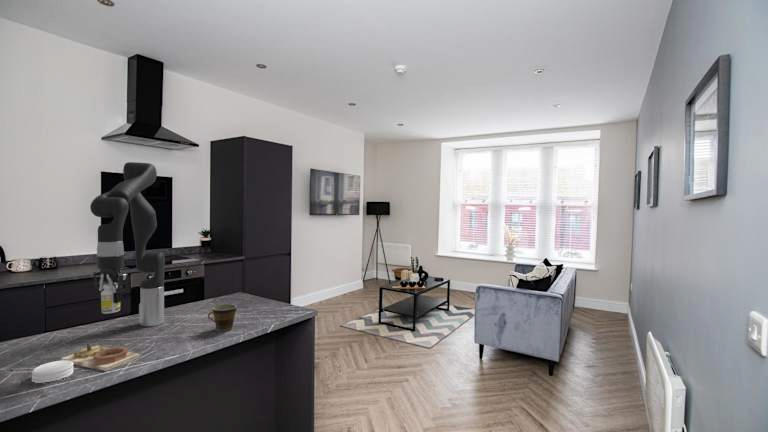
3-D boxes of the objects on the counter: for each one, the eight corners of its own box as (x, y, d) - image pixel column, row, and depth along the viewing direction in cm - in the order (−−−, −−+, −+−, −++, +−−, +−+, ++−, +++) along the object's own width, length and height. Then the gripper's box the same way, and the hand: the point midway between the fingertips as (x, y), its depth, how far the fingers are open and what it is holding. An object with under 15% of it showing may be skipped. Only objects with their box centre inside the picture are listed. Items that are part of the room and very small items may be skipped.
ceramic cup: (227, 324, 170) (227, 302, 169) (241, 328, 165) (241, 306, 164) (201, 332, 159) (201, 309, 158) (215, 336, 153) (215, 313, 153)
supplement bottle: (117, 308, 132) (117, 281, 131) (122, 311, 128) (122, 283, 128) (99, 311, 128) (99, 284, 127) (103, 314, 124) (103, 286, 124)
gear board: (60, 361, 128) (60, 348, 127) (97, 348, 139) (96, 336, 139) (105, 371, 121) (105, 357, 121) (139, 357, 132) (139, 344, 132)
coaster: (28, 387, 110) (28, 376, 110) (34, 375, 118) (34, 364, 118) (72, 378, 116) (71, 368, 116) (75, 367, 124) (74, 357, 124)
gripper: (84, 254, 126) (85, 302, 127) (114, 256, 122) (114, 306, 122) (106, 251, 133) (107, 297, 134) (136, 253, 129) (136, 301, 129)
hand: (110, 301), depth 128 cm, fingers closed on supplement bottle, 5 cm apart
